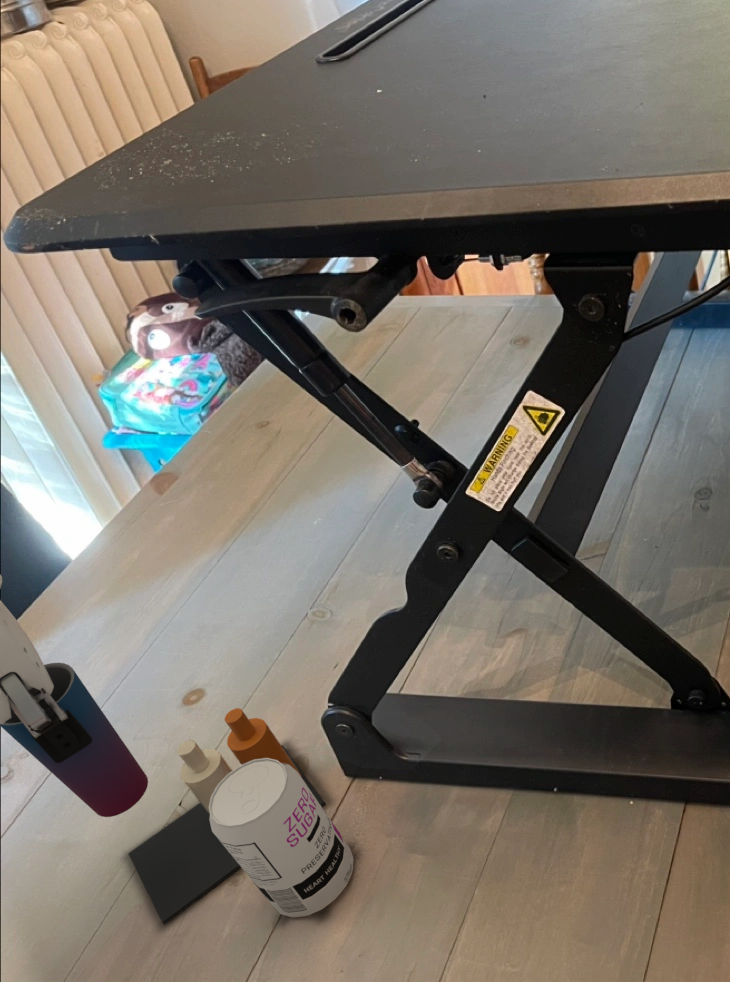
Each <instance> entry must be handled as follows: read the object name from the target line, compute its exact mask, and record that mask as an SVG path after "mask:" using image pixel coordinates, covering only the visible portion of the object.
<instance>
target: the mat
mask: <svg viewBox="0 0 730 982" xmlns="http://www.w3.org/2000/svg"><path fill="white" fill-rule="evenodd" d="M281 746H282V747H283V749H284V750H285V752H286V753H287V755H288V756H289V758H290V759H291V761H292V762H293V763H294V765H295V766H296V768H297V769H298V771H299V772H300V774H301V776H302V779H303V781H304V782H305V783H306V785H307V786H308V788H309V789H310V791H311V792H312V794H313V795H314V797H315V798H316V800H317V801H318V802H319V804H320V805H321V807H322V808H323V807H324V806H325V805H327V804H326V802H325V800H324V799H323V798H322V797H321V795H320V794H319V792H318V791H317V790H316V788H315V787H314V786H313V785H312V783H311V781H310V780H309V779H308V777H307V776H306V774H305V773H304V772H303V771H302V770H301V767H299V765H298V764H297V762H296V761H295V759H294V758H293V757H292V756H291V754H290V753H289V752H288V750H287V749H286V747H285V746H284V745H282V744H281ZM209 819H210V814H209V813H208V812H207V811H206V809H205V808H204V807H203V806H202V804H201V803H200V802H199V803H198V804H196V805H194V806H193V807H192V808H191V809H189V810H188V811H186V812H185V813H184V814H182V815H181V816H179V817H178V818H177V819H175V820H174V821H172V822H171V823H169V824H168V825H166V826H165V827H164V828H162V829H161V830H159V831H158V832H157V833H155V834H153V835H152V836H151V837H150V838H148V839H147V840H146V841H143V842H142V843H141V844H139V845H138V846H136V848H133V850H131V851H130V852H129V853H127V854H128V857H129V858H130V860H131V862H132V864H133V866H134V868H135V871H136V872H137V874H138V876H139V879H140V880H141V882H142V884H143V887H144V888H145V890H146V892H147V895H148V897H149V898H150V900H151V902H152V905H153V906H154V909H155V910H156V912H157V914H158V917H159V918H160V921H161V922H162V924H163V925H167V924H168V923H170V921H172V920H173V919H174V918H176V917H177V916H179V915H180V914H181V913H183V912H184V911H185V910H186V909H188V908H189V907H191V906H192V905H194V904H195V903H196V902H197V901H198V900H200V899H201V898H203V897H204V896H205V895H207V894H208V893H209V892H211V891H212V890H213V889H214V888H216V887H217V886H218V885H221V883H223V882H224V881H225V880H227V879H228V878H229V877H231V876H232V875H233V874H235V873H236V872H237V871H239V870H240V869H242V868H241V866H240V865H239V864H238V863H237V861H236V860H235V859H234V858H233V857H232V855H231V854H230V853H229V852H228V850H227V849H226V848H225V847H224V845H223V844H222V843H221V842H220V841H219V839H218V838H217V837H216V836H215V834H214V833H213V832H212V829H211V825H210V820H209Z"/></svg>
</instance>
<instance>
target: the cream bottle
mask: <svg viewBox="0 0 730 982" xmlns="http://www.w3.org/2000/svg"><path fill="white" fill-rule="evenodd" d="M176 753H177V755H178V756H179V758H180V759H181V760H182V761H183V763H184V764H183V765H182V767H181V769H180V773H179V776H180V779H181V781H182V782H183V783H184V784H185V786H186V787H187V788H188V790H189V791H190V792H191V793H192V795H193V796H194V797H195V798H196V800H197V801H198V802H199V803H201V804H202V806H203V807H204V808H205V809H206V811H207V812H208V813H209V814H210V811H209V804H210V799H211V795H212V794H213V792H214V790H215V789H216V787H217V785H218V784H219V783H220V782H221V781H222V780H223V779H224V778H225V777H226V776H227V774H228V773H230V772H231V771H233V770H234V769H232V768H231V766H230V765H229V764H228V762H227V761H226V760H225V758H224V757H223V755H222V754H221V753H220V752H219V751H218V750H217V749H214V748H207V749H201V747H200V746H199V745H198V743H197V742H196V741H195V740H193V739H188V740H185V741H184V742H182V743H181V744H180V745H179V746H178V748H177V750H176Z"/></svg>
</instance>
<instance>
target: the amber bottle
mask: <svg viewBox="0 0 730 982" xmlns="http://www.w3.org/2000/svg"><path fill="white" fill-rule="evenodd" d="M224 722H225V724H226V725H227V726H228V728H229V729H230V730H231V731H230V733H229V735H228V737H227V740H226V744H227V747H228V748H229V750H230V752H231V753H232V754H233V755H234V757H235V758H236V759H237V761H238V762H239V764H240V765H242V764H244V763H247V762H249V761H252V760H255V759H262V758H270V759H274V760H278V761H279V762H280V763H284V764H288V765H290V766H291V767H292V768H294V769H295V770H296V771H297V772H298V773H299V775H300V776H301V774H300V772H299V771H298V769H297V768H296V766H295V765H294V763H293V762H292V761H291V759H290V758H289V756H288V755H287V753H286V752H285V750H284V749H283V747H282V744H281V743H280V742H279V740H278V738H277V737H276V735H275V734H274V733H273V731H272V730H271V728H270V727H269V725H268V724H267V723H266V721H265V720H264V719H263V718H259V717H253V718H248V716H247V715H246V713H245V712H244V710H243V709H241V708H237V707H236V708H232V709H231V710H229V711H228V712H227V713H226V715H225V716H224ZM301 778H302V776H301Z"/></svg>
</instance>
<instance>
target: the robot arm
mask: <svg viewBox="0 0 730 982" xmlns="http://www.w3.org/2000/svg"><path fill="white" fill-rule="evenodd" d="M2 585H3V576H2V575H1V574H0V590H1V588H2ZM44 665H45V664H44V662H43V660H42V659H41V656H40V655H39V652H38V651H37V649H36V647H35V645H34V643H33V642H32V640H31V639H30V637H29V636H28V634H27V633H26V631H25V629H24V628H23V627H22V625H21V624H20V622H18V620H17V618H16V617H15V616H14V615H13V614H12V612H11V611H10V610H9V608H8V607H7V606H6V605H5V604H4V603H3V601H2V600H1V599H0V724H3V723H5V722H6V721H7V720H8V719H10V718H12V717H11V710H10V708H11V709H12V710H13V711H14V713H15V714H16V715H17V716H18V718H19V719H20V720H21V721H22V723H23V724H24V725H25V726H26V728H27V729H28V730H29V732H30V734H31V736H32V737H33V739H34V740H35V741H36V742H37V743H38V744H39V745H40V746H41V747H42V748H43V750H44V751H45V752H46V753H47V754H48V755H49V756H50V757H51V758H52V759H53V761H54V762H55V763H61V762H63V761H64V760H66V759H68V758H69V757H71V756H72V755H74V754H75V753H77V752H78V751H80V750H81V749H83V748H85V747H86V746H88V745H89V744H91V742H92V738H91V736H90V735H89V733H88V732H87V731H86V730H85V729H84V727H83V726H82V725H81V724H80V723H79V722H78V720H77V719H76V718H75V717H74V716H73V715H72V713H71V712H70V711H69V710H67V711H64V710H63V709H62V708H61V706H60V705H59V704H58V702H57V701H56V700H55V698H54V697H53V696H52V695H51V693H52V691H53V688H54V685H53V683H52V681H51V679H50V676H49V674H48V672H47V670H46V668H45V666H44ZM32 688H35V689H38V690H40V691H38V692H37V693H35V694H34V695H32V694H31V693H30V691H29V690H31V689H32ZM42 700H45V701H46V702H47V704H48V705H49V706H50V708H51V709H52V710H50V709H47V710H46V711H45V710H43V709H42V708H41V707H40V705H39V704H38V703H39V702H40V701H42Z"/></svg>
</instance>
